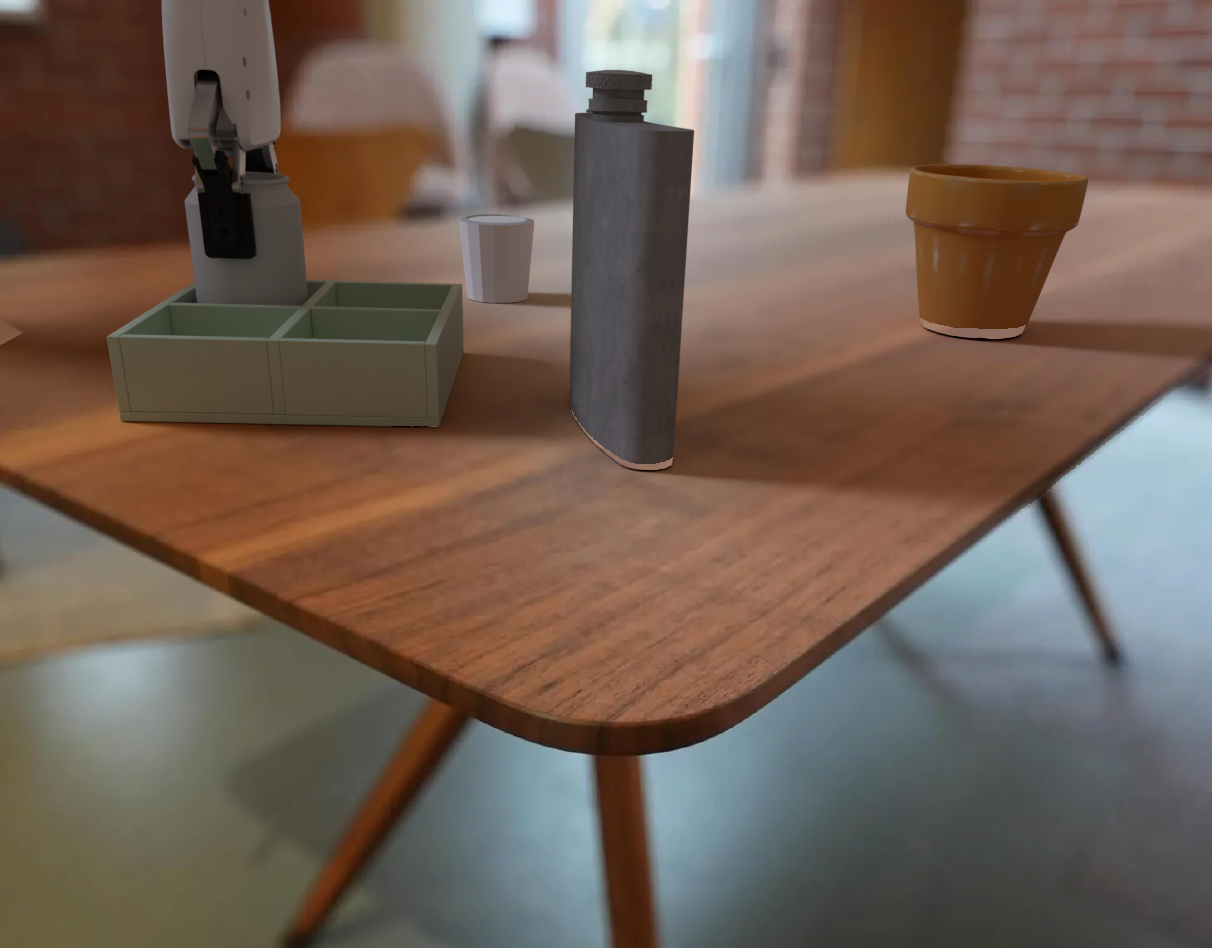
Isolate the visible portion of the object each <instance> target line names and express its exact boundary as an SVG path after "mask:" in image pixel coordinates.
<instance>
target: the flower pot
mask: <svg viewBox="0 0 1212 948" xmlns="http://www.w3.org/2000/svg"><path fill="white" fill-rule="evenodd" d="M1088 185H1089V178H1088V177H1087V176H1084V175H1081V174H1077V173H1072V172H1067V171H1058V170H1052V169H1051V170H1049V169H1041V168H1029V167H1019V166H1007V165H994V164H993V165H992V164H969V163H968V164H966V163H964V164H963V163H961V164H960V163H936V164H935V163H934V164H932V163H931V164H921V165H916V166H913V167H911V168H910V170H909V176H908V184H907V192H906V193H907V194H906V202H905V215H906V217H907V218H908V219H909V220H911V221H912V222H913V230H914V242H915V244H914V246H915V248H914V249H915V267H916V268H915V269H916V285H917V302H918V303H917V304H918V316H920V317H919V319H920V318H922V319H924V320H926V321H928V322H930V323H935V324H939V325H944V326H949V327H953V328H978V329H1008V328H1018V327H1021V326H1024V325H1026V324H1027V323H1029V322H1030V319H1031V317H1032V315H1033V312H1034V310H1035V309H1036V308H1035V307H1036V305H1037V303H1038V300H1039V298H1040V295H1041V293H1042V292H1043V288H1044V286H1045V283H1046V281H1047V279H1048V277H1049V274H1050V272H1051V270H1052V267H1053V264H1054V262H1055V259H1056V257H1057V255H1058V252H1059V250H1060V247H1061V245H1062V243H1063V241H1064V238H1065V236H1066V234H1067V233H1068V232H1070V231H1072V230H1073V229H1075V228H1076V227H1077V226H1078V225H1079V223H1080V218H1081V216H1082V211H1083V207H1084V202H1085V198H1086V194H1087V189H1088ZM1027 325H1028V324H1027Z"/></svg>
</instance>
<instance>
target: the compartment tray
mask: <svg viewBox="0 0 1212 948" xmlns="http://www.w3.org/2000/svg"><path fill="white" fill-rule="evenodd" d="M307 291H308V300H307V301H306V302H305V303H304V304H303V305H302V306H288V305H249V304H209V303H197V298H196V290H195V282H194V281H193V282H191V283H190V284H188V285H187V286H185V287H184V288H181V289H180V290H179V291H177V292H175V293H174V294H172V295H171V296H169V297H167V298H166V299H164V300H162V301H161V302H159V303H157V304H156V305H154V307H153V306H152V307H151V308H150V309H148V310H147V311H145V312H143V313H142V314H140V315H139V316H137V317H135V318H134V319H132V320H131V321H129V322H127V323H126V324H125V325H123V326H121V327H120V328H118V329H116V330H114V331H113V332H112V333H110V334H109V335H107V336H106V341H107V348H108V352H109V360H110V366H111V370H112V377H113V383H114V389H115V395H116V402H117V407H118V408H117V409H118V411H119V413H118V414H119V419H120V421H121V422H146V423H147V422H151V423H155V422H157V423H195V424H196V423H201V424H204V423H205V424H248V425H249V424H251V425H252V424H254V425H293V426H295V425H297V426H300V425H301V426H343V427H344V426H346V427H347V426H348V427H349V426H350V427H392V426H411V427H410V428H414V427H413V426H422V427H421V428H424V427H423V426H428V427H427V428H430V427H429V426H436V427H435V428H440V426H441V423H442V420H443V416H444V413H445V411H446V407H447V404H448V401H449V398H450V395H451V392H452V389H453V386H454V383H455V380H456V376H457V373H458V371H459V367H460V364H461V361H462V358H463V355H464V352H465V347H464V346H465V345H464V344H465V342H464V341H465V340H464V307H463V305H464V303H463V301H464V300H463V283H449V282H448V283H444V282H412V281H411V282H410V281H409V282H407V281H404V282H403V281H370V280H369V281H367V280H335V279H334V280H333V279H331V280H329V279H328V280H326V279H307Z"/></svg>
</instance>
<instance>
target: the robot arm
mask: <svg viewBox="0 0 1212 948" xmlns="http://www.w3.org/2000/svg"><path fill="white" fill-rule="evenodd" d="M270 9H271V8H270V2H269V0H161V24H162V40H163V55H164V66H165V79H166V89H167V101H168V112H169V121H170V131H171V137H172V139H173V141H174V142H175V143H176V145H178V147H180V148H181V149H184V150H191V149H192V151H193V154H192V158H191V162H192V165H193V166H194V167H195V174H194V175H195V182H194V185H195V184H196V189H197V192H198V193H197V194H198V202H199V210H200V218H201V226H202V235H203V243H204V251H205V254H206V256H207V257H209V258H225V259H252V258H253V257H255V256H256V242H255V232H254V222H253V213H252V203H251V193H244V189H245V172H265V173H275V174H280V171H279V164H278V159H277V154H276V151H275V150H276V141H277V139H279V137H280V135H281V131H282V117H281V115H282V113H281V97H280V86H279V76H278V75H279V74H278V65H277V60H276V59H277V58H276V57H277V55H276V47H275V41H274V32H273V25H272V13H271V10H270ZM229 158H231V165H230V163H229Z"/></svg>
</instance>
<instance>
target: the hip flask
mask: <svg viewBox="0 0 1212 948" xmlns="http://www.w3.org/2000/svg"><path fill="white" fill-rule="evenodd" d="M652 87H653V74H652V73H651V74H650V73H646V72H640V71H636V70H627V69H602V70H593V71H592V70H591V71H586V72H585V88H589V89H592V98H588V99H587V100H588V109H585V112H576V113H574V146H573V147H574V148H573V192H572V193H573V194H572V195H573V197H572V240H571V241H572V242H571V243H572V244H571V245H572V246H571V249H572V250H571V251H572V252H571V293H570V294H571V295H570V296H571V297H570V298H571V299H570V343H569V345H570V346H569V347H570V348H569V349H570V350H569V393H568V394H569V395H568V397H569V398H568V399H570V402H569V407H570V406H571V408H570V410H571V409H572V411H573V413H574V416H575V417H576V418H577V421H578V422H579V423H580V424H581V426H582V427H583V428H584V429H585V431H586V432H587V433H588V434H589V435H590V436H591V437H593V439H594V440H596V441H597V442H598V443H599V444H600V445H602V446H603V447H604V448H605V449H607V450H609V451H611V453H613V454H614V455H617V456H618V457H619V458H620V459H622V460H626V461H628V462H631V463H635V464H656V463H660V462H665V461H667V460H670V459H671V458H672V457H673V458H674V456H675V455H674V454H675V453H674V452H675V438H676V437H675V436H676V424H677V423H676V421H677V408H678V407H677V406H678V393H679V392H678V391H679V375H680V362H681V361H680V360H681V347H682V346H681V343H682V332H683V331H682V329H683V314H684V298H685V281H686V265H687V252H688V251H687V249H688V235H689V218H690V203H691V188H692V175H693V174H692V172H693V157H694V142H695V130H694V129H691V128H685V127H678V126H673V125H672V126H671V125H666V124H660V123H654V122H650V121H645V115H644V114H646V113H648V101H649V100H647V99H645V91H651V90H652V89H653V88H652ZM572 411H571V412H572ZM574 416H573V417H574ZM673 455H674V456H673Z"/></svg>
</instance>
